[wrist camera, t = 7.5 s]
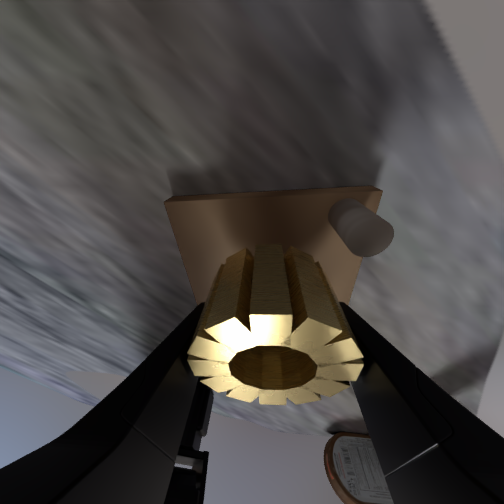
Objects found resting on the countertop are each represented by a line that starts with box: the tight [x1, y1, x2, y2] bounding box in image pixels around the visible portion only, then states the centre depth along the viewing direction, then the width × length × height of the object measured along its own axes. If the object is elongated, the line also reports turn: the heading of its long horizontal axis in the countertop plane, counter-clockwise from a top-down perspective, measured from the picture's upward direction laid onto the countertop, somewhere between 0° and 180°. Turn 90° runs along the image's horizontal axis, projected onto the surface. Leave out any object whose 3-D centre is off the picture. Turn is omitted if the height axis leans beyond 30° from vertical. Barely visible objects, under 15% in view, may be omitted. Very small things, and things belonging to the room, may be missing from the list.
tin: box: [324, 432, 394, 504], centre depth 30 cm, size 15×3×8 cm, turn 86°
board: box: [164, 186, 394, 306], centre depth 13 cm, size 12×16×6 cm
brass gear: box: [187, 244, 364, 405], centre depth 8 cm, size 6×6×4 cm
